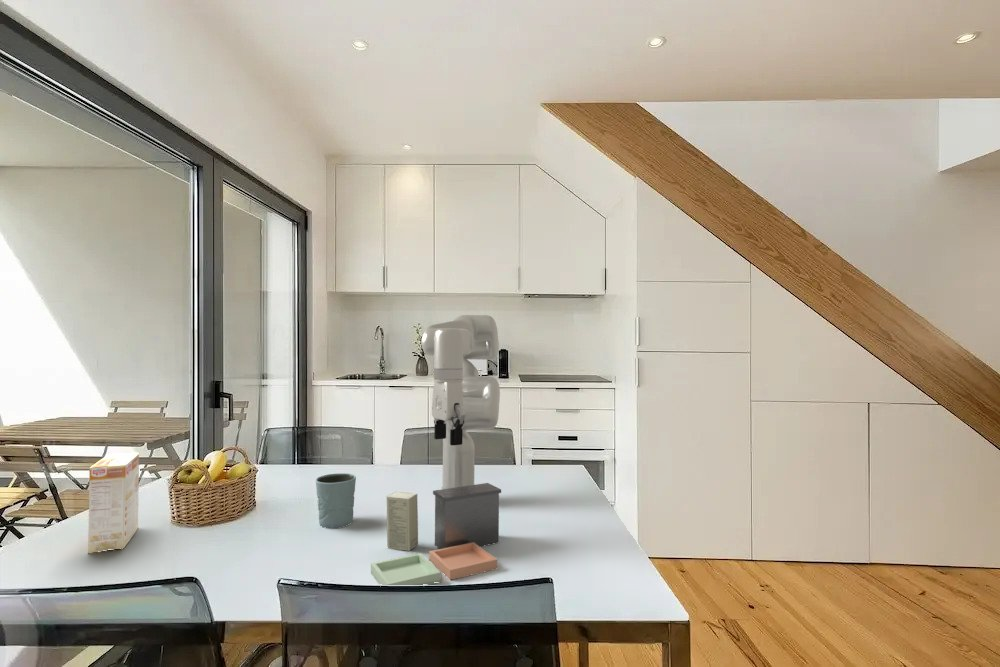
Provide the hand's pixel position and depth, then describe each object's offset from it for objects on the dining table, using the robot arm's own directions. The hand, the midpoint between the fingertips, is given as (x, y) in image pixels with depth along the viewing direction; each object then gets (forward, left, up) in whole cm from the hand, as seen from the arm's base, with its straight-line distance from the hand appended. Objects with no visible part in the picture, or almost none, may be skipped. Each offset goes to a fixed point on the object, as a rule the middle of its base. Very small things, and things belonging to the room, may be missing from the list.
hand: (447, 441), depth 136 cm
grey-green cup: (-18, -24, -23) cm, 38 cm away
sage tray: (+22, -19, -22) cm, 37 cm away
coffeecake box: (-31, -73, -23) cm, 83 cm away
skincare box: (+6, -14, -23) cm, 27 cm away
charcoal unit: (+12, 0, -22) cm, 25 cm away
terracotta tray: (+22, -6, -22) cm, 32 cm away
